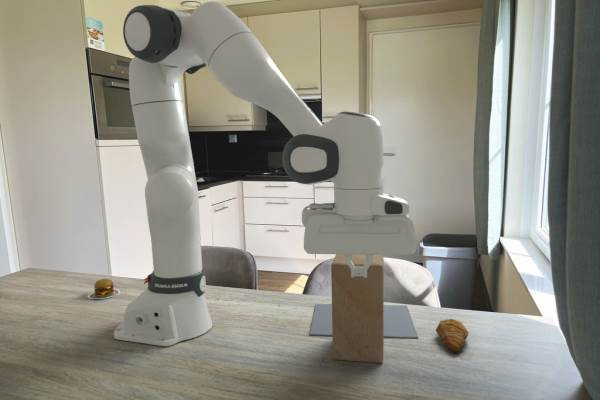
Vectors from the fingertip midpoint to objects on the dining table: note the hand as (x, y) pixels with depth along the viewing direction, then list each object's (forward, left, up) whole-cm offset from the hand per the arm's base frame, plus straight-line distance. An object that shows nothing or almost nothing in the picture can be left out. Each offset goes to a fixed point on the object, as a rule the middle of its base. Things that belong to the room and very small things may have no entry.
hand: (358, 276), depth 77 cm
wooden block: (0, +8, -19) cm, 20 cm away
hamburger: (-75, +37, -19) cm, 86 cm away
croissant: (+20, +14, -19) cm, 31 cm away
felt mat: (+1, +23, -18) cm, 29 cm away
